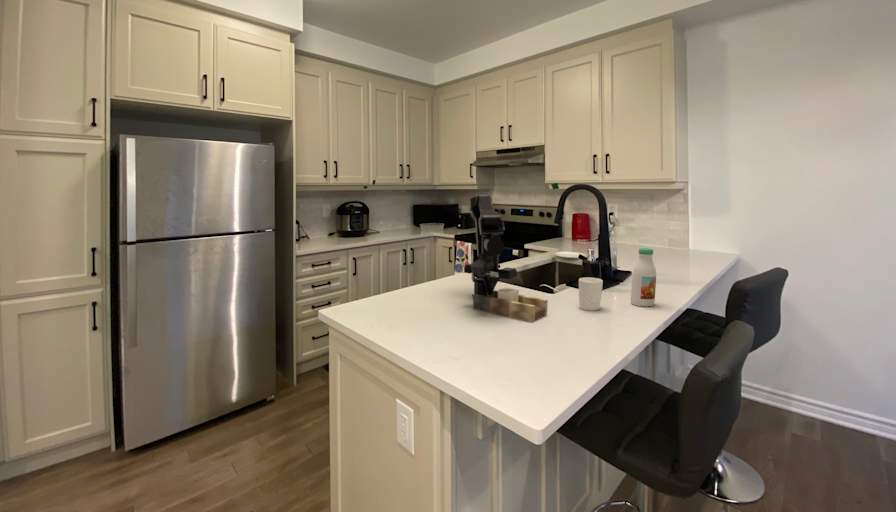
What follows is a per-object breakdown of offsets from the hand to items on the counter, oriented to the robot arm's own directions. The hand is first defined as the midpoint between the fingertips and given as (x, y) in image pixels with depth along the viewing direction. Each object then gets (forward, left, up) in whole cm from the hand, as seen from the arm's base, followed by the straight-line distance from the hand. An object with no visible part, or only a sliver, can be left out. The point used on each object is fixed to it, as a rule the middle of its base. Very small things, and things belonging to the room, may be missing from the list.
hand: (489, 294), depth 147 cm
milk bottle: (+41, +37, -5) cm, 55 cm away
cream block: (+8, 0, -2) cm, 8 cm away
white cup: (+28, +21, -5) cm, 35 cm away
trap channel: (+8, 0, -5) cm, 9 cm away
